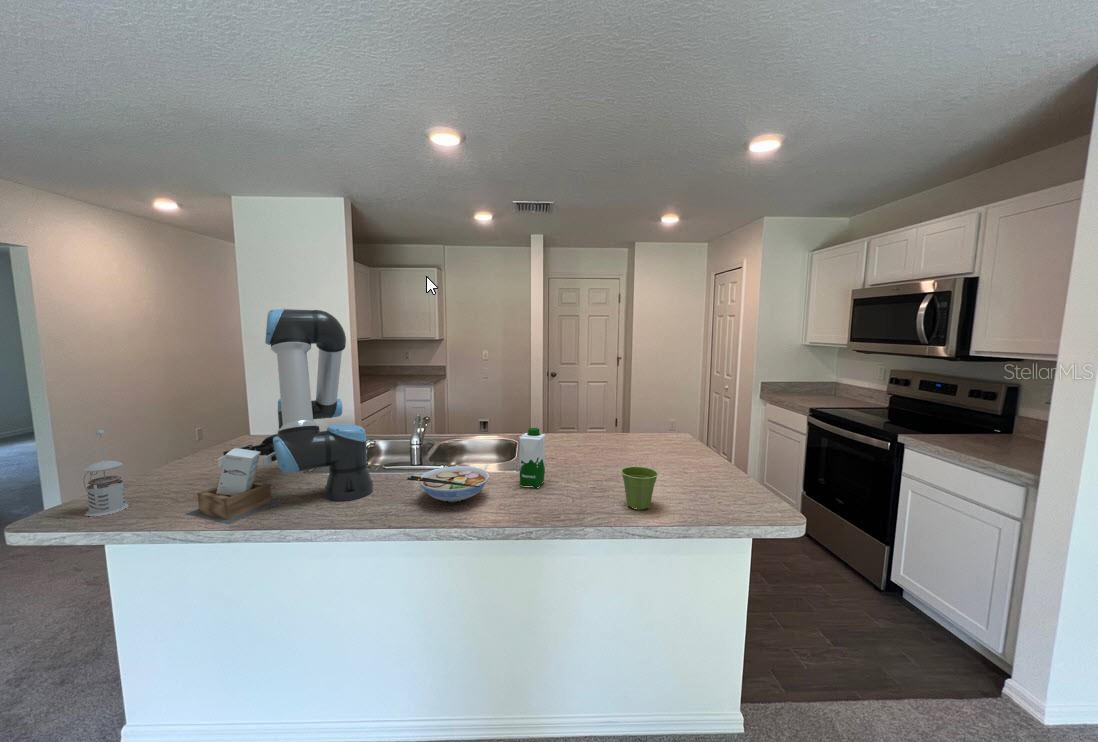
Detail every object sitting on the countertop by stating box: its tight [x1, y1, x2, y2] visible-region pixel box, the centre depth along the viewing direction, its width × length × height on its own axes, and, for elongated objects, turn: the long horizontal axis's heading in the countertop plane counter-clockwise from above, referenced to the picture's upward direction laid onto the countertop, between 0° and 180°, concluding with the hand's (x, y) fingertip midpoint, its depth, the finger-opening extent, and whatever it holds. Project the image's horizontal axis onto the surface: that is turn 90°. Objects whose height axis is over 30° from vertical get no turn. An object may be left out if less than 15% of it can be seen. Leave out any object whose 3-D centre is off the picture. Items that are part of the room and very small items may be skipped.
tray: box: [197, 481, 272, 520], centre depth 133 cm, size 13×13×6 cm
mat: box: [185, 498, 284, 525], centre depth 133 cm, size 19×17×1 cm
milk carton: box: [518, 427, 546, 487], centre depth 155 cm, size 9×9×20 cm
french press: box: [82, 429, 130, 517], centre depth 131 cm, size 10×12×25 cm
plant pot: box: [620, 465, 659, 510], centre depth 137 cm, size 12×12×11 cm
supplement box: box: [216, 447, 261, 496], centre depth 133 cm, size 7×7×13 cm
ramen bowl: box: [406, 465, 490, 503], centre depth 143 cm, size 25×23×8 cm
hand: (241, 462), depth 137 cm, fingers open, 13 cm apart
